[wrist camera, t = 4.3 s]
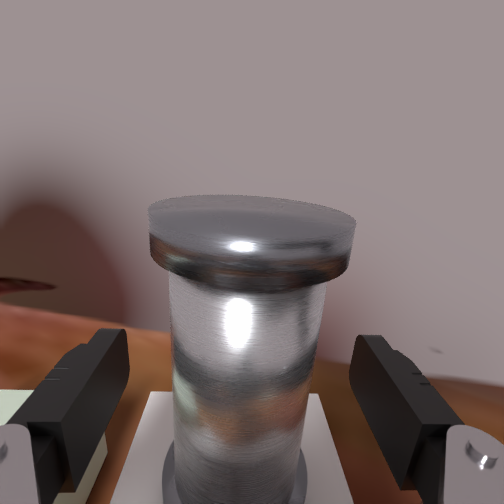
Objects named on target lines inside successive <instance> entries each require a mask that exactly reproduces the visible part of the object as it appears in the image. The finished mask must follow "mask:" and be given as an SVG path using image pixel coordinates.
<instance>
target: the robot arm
mask: <svg viewBox="0 0 504 504" xmlns="http://www.w3.org/2000/svg"><path fill="white" fill-rule="evenodd" d="M129 371H130V365H129V354H128V344H127V334H126V331H125V329H104V328H101V329H99V330H98V331H97V332H96V333H95V335H94V336H93V337H92V339H91V340H90V341H89V342H88V344H80V345H78V346H77V347H75V348H74V349H72V350H71V351H69V352H68V353H66V354H65V355H64V356H63V357H62V358H61V359H60V361H59V362H58V363H57V364H56V365H55V367H54V369H52V370H51V371H50V372H49V374H48V375H47V376H46V377H45V380H43V381H42V382H41V383H40V384H39V385H38V386H37V388H36V389H35V390H34V391H33V392H32V393H31V395H30V396H29V397H28V398H27V399H26V401H25V402H24V403H23V404H22V405H21V406H20V408H19V409H18V410H17V411H16V412H15V413H14V415H13V416H12V417H11V418H10V419H9V420H8V422H7V423H6V424H5V425H1V426H0V504H53V502H54V500H55V498H56V497H57V495H58V493H75V492H76V490H77V488H78V486H79V484H80V482H81V480H82V478H83V475H84V473H85V471H86V469H87V467H88V465H89V463H90V461H91V459H92V457H93V454H94V452H95V450H96V448H97V446H98V444H99V442H100V440H101V438H102V436H103V434H104V431H105V429H106V427H107V425H108V423H109V421H110V419H111V417H112V415H113V413H114V410H115V408H116V406H117V404H118V402H119V400H120V398H121V396H122V394H123V392H124V389H125V387H126V385H127V382H128V378H129ZM349 379H350V385H351V388H352V390H353V393H354V395H355V397H356V399H357V401H358V403H359V405H360V407H361V409H362V411H363V413H364V415H365V417H366V420H367V422H368V424H369V426H370V428H371V430H372V432H373V434H374V436H375V438H376V440H377V442H378V445H379V447H380V449H381V451H382V453H383V455H384V457H385V459H386V461H387V463H388V465H389V467H390V470H391V472H392V474H393V476H394V478H395V480H396V482H397V484H398V486H399V488H400V490H417V491H418V493H419V495H420V497H421V499H422V501H421V503H420V504H504V445H503V444H501V443H500V442H499V441H498V440H496V439H495V438H494V437H492V436H490V435H489V434H487V433H485V432H483V431H481V430H479V429H477V428H474V427H471V426H466V425H465V424H464V423H463V422H462V421H461V419H460V418H459V417H458V416H457V415H456V413H455V412H454V411H453V410H452V409H451V407H450V406H449V405H448V404H447V403H446V401H445V400H444V399H443V398H442V397H441V395H440V394H439V393H438V392H437V391H436V389H435V388H434V387H433V386H431V385H430V382H429V381H428V380H427V379H426V377H425V376H424V375H422V373H421V371H420V370H419V369H418V368H417V366H416V365H415V364H414V363H413V362H412V361H411V360H410V359H409V358H407V357H406V356H404V355H403V354H402V353H400V352H399V351H397V350H393V349H392V348H391V347H390V345H389V344H388V343H387V341H386V340H385V339H384V338H383V337H382V336H381V335H358V336H357V338H356V341H355V345H354V350H353V355H352V360H351V365H350V370H349Z"/></svg>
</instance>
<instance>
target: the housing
mask: <svg viewBox="0 0 504 504" xmlns="http://www.w3.org/2000/svg"><path fill="white" fill-rule="evenodd" d="M148 220H149V241H150V253H151V256H152V258H153V260H154V261H155V262H156V263H157V264H158V265H160V266H161V267H163V268H164V269H166V270H168V271H169V294H170V326H171V327H170V328H171V361H172V395H173V429H174V440H173V442H172V443H171V445H170V447H169V450H168V452H167V455H166V458H165V461H164V466H163V471H162V496H163V504H305V498H306V493H307V483H308V481H307V467H306V462H305V458H304V454H303V452H302V450H301V441H302V435H303V429H304V423H305V416H306V410H307V404H308V398H309V392H310V386H311V380H312V373H313V367H314V361H315V355H316V349H317V343H318V336H319V330H320V324H321V317H322V312H323V305H324V300H325V293H326V287H327V281H330V280H332V279H335V278H337V277H338V276H340V275H341V274H343V273H344V272H345V271H346V269H347V267H348V264H349V260H350V254H351V248H352V243H353V238H354V232H355V227H356V220H355V219H354V218H353V217H351V216H350V215H348V214H346V213H344V212H341V211H339V210H335V209H332V208H329V207H325V206H321V205H316V204H312V203H306V202H301V201H294V200H288V199H280V198H270V197H259V196H243V195H197V196H184V197H176V198H170V199H165V200H161V201H158V202H155V203H153V204H151V206H149V208H148Z"/></svg>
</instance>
